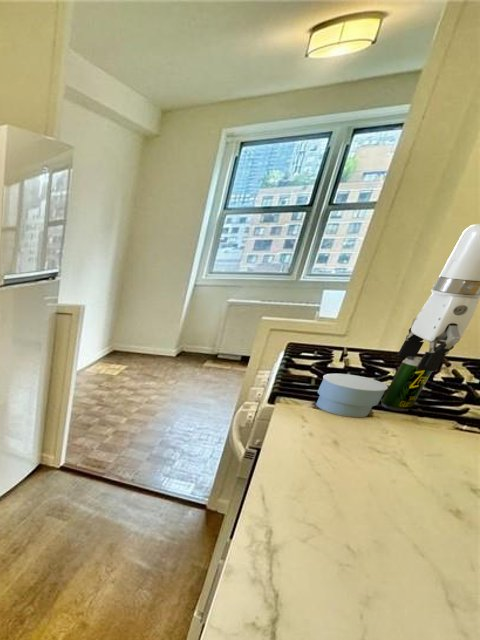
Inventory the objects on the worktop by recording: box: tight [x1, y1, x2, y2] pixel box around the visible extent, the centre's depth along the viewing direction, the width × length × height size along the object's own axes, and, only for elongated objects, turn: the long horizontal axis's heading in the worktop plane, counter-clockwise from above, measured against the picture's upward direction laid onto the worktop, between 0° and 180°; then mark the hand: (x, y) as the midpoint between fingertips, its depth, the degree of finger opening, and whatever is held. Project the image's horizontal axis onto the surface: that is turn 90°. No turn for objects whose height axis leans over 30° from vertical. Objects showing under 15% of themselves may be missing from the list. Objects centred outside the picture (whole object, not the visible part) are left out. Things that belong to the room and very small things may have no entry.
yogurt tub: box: [315, 373, 389, 418], centre depth 114 cm, size 11×11×7 cm
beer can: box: [380, 356, 433, 412], centre depth 114 cm, size 5×5×12 cm
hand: (415, 363), depth 112 cm, fingers open, 9 cm apart
